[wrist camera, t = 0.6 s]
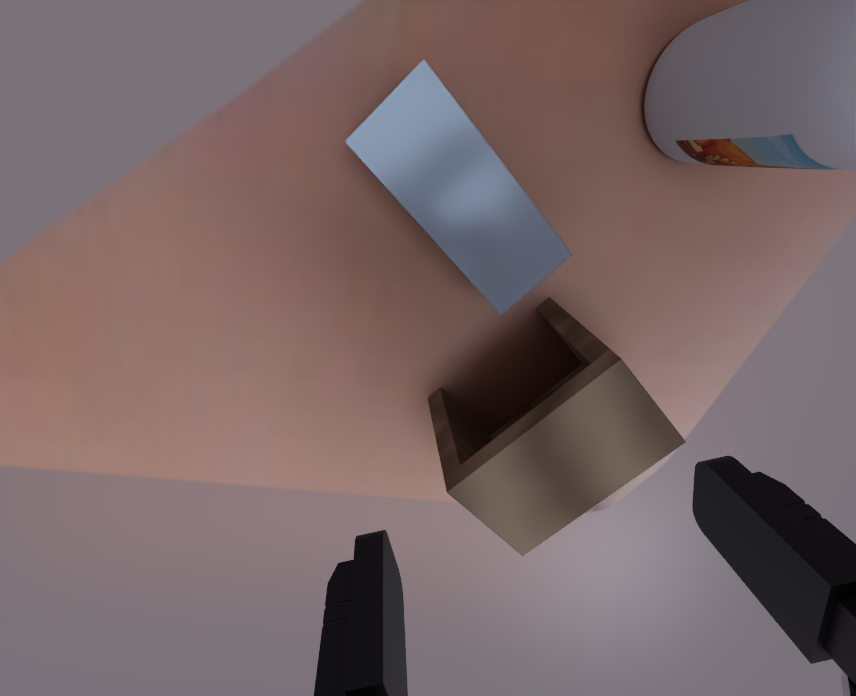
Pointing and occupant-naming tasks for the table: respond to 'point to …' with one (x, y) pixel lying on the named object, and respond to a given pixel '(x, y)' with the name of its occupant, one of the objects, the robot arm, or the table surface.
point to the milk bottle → (760, 87)
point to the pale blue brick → (458, 189)
